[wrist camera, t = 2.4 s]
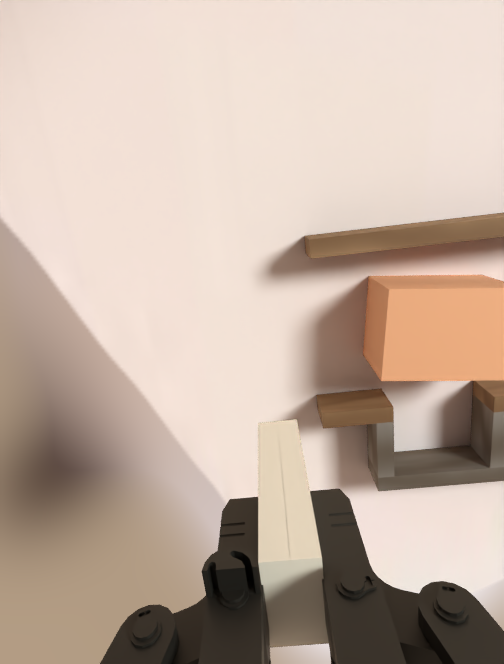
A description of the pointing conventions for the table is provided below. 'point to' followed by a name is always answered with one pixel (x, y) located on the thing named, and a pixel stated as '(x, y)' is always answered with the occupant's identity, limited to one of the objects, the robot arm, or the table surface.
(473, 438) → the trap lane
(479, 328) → the terracotta block
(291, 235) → the table surface
